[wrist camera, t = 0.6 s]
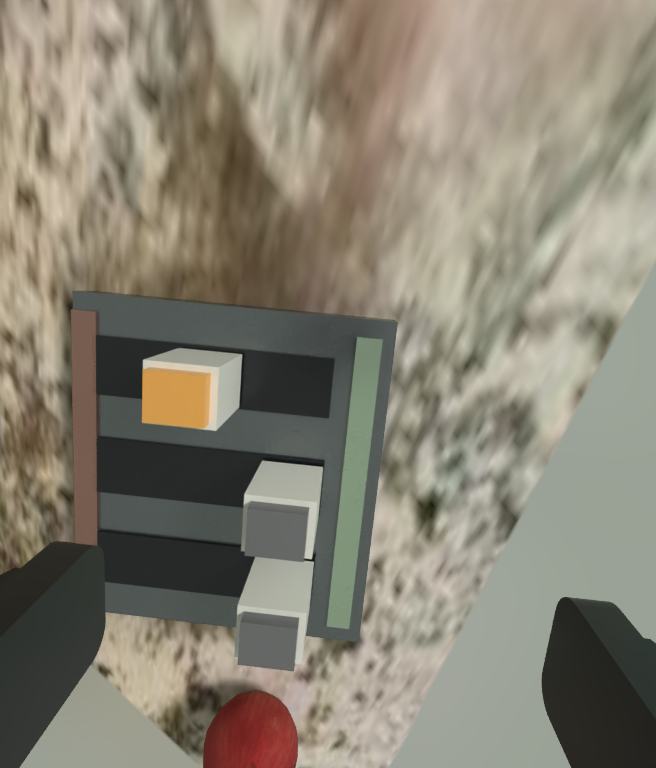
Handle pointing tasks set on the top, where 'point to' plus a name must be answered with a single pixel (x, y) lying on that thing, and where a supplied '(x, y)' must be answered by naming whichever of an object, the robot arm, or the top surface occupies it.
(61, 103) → the top surface
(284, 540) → the breaker
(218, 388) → the block
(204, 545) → the breaker board
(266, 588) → the breaker
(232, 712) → the onion
